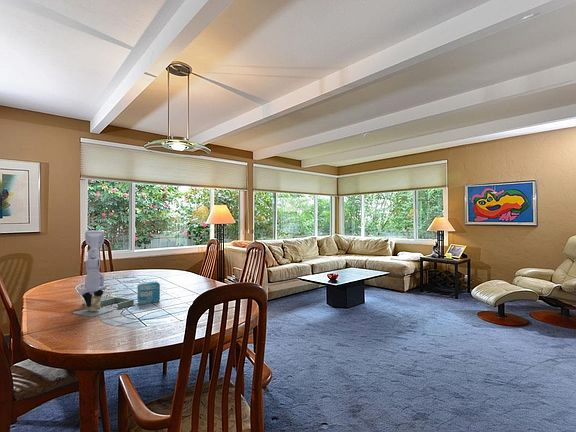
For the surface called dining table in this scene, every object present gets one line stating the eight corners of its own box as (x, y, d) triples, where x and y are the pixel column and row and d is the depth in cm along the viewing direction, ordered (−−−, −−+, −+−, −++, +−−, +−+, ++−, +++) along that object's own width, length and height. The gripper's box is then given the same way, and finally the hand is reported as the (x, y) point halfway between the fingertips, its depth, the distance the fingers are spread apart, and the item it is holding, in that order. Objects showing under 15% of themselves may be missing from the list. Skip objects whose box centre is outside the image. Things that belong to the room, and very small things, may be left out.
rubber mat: (72, 313, 169) (72, 312, 169) (93, 307, 180) (93, 306, 180) (91, 317, 163) (91, 316, 163) (112, 311, 174) (112, 310, 174)
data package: (138, 304, 186) (138, 284, 186) (137, 303, 190) (137, 283, 190) (159, 301, 193) (159, 282, 193) (158, 300, 197) (158, 281, 197)
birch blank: (93, 311, 169) (93, 298, 169) (84, 309, 171) (84, 296, 171) (100, 309, 172) (100, 296, 172) (91, 307, 175) (91, 295, 175)
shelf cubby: (100, 305, 184) (100, 300, 184) (116, 301, 193) (116, 296, 193) (118, 308, 178) (118, 303, 178) (133, 304, 187) (133, 299, 187)
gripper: (84, 283, 163) (84, 309, 163) (110, 278, 177) (110, 302, 177) (75, 282, 166) (75, 308, 166) (101, 277, 180) (101, 301, 179)
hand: (92, 305), depth 172 cm, fingers closed on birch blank, 4 cm apart
